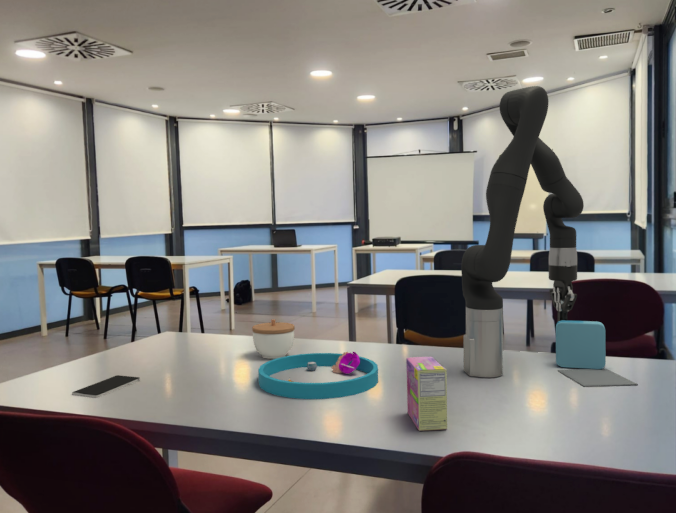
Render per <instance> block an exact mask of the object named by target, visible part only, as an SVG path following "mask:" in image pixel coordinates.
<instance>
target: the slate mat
mask: <svg viewBox="0 0 676 513" xmlns="http://www.w3.org/2000/svg"><path fill="white" fill-rule="evenodd" d="M557 372H558V373H560V374H562V375H564V376H565V377H567V378H569V379H570V380H572V381H573V382H574V383H577V384H578V385H580V386H582V387H583V388H585V387H586V388H590V387H596V388H597V387H620V386H621V387H623V386H638V383H637V382H634V381H632V380H630V379H628V378H626V377H624V376H623V375H620V374H618V373H616V372H615V371H612V370H611V369H608V368H603V369H584V368H575V369H557Z"/></svg>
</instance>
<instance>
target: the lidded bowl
mask: <svg viewBox="0 0 676 513" xmlns="http://www.w3.org/2000/svg"><path fill="white" fill-rule="evenodd" d="M295 329H296V327H295V325H294V324H293V323H290V322H283V321H281V322H280V321H279V322H276V319H274V318H273V319H271V322H263V323H258V324H254V325H253V326H252V327H251V331H252V339H253V345H254V348H255V350H256V352H257V353H259V355H261V357H262V358H263V359H269V360H270V359H271V360H273V359H276V358H281V357H285V356H287V354H288V353H289V352H290V351H291V350H292V348H293V346H294V340H295Z"/></svg>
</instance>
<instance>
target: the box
mask: <svg viewBox="0 0 676 513" xmlns="http://www.w3.org/2000/svg"><path fill="white" fill-rule="evenodd" d="M405 361H406V362H405V363H406V366H405V367H406V400H407V401H406V402H407V403H406V404H407V414H408V416H409V417H410V419H411V420H412V423H413V424H414V426H415V427H416V428H417V430H418V431H419V432H421V431H422V432H423V431H439V430H440V431H441V430H448V394H447V393H448V390H447V388H448V386H447V385H448V384H447V371H448V370H447V368H446V367H444V366H443V365H442V364H441V363H440V362H439V361H437V359H435V357H433V356H415V357H413V356H412V357H411V356H410V357H406V359H405Z"/></svg>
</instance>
